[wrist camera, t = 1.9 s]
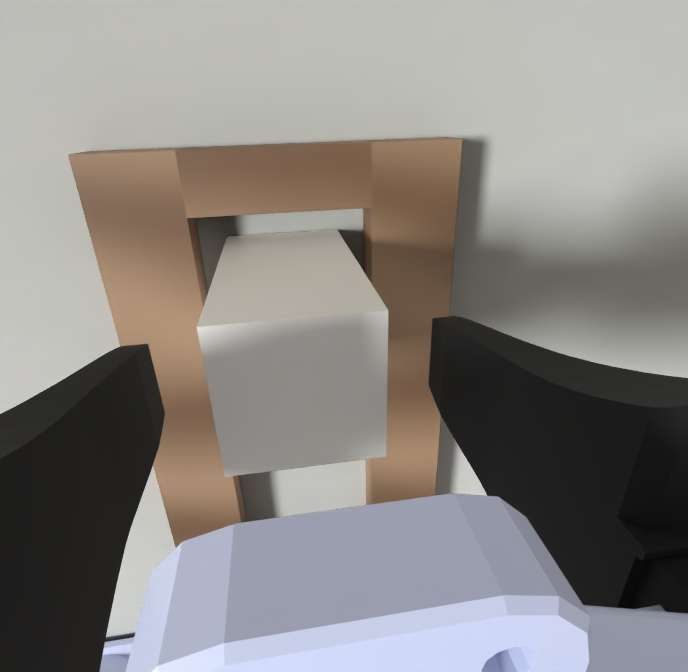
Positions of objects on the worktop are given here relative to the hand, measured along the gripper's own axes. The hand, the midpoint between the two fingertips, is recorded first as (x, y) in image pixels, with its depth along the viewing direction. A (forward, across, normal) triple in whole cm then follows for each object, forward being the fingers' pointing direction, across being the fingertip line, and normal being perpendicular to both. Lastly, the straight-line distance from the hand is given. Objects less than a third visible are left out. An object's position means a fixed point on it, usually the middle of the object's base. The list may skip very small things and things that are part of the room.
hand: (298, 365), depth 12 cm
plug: (+6, 0, 0) cm, 7 cm away
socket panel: (+6, 0, +5) cm, 8 cm away
